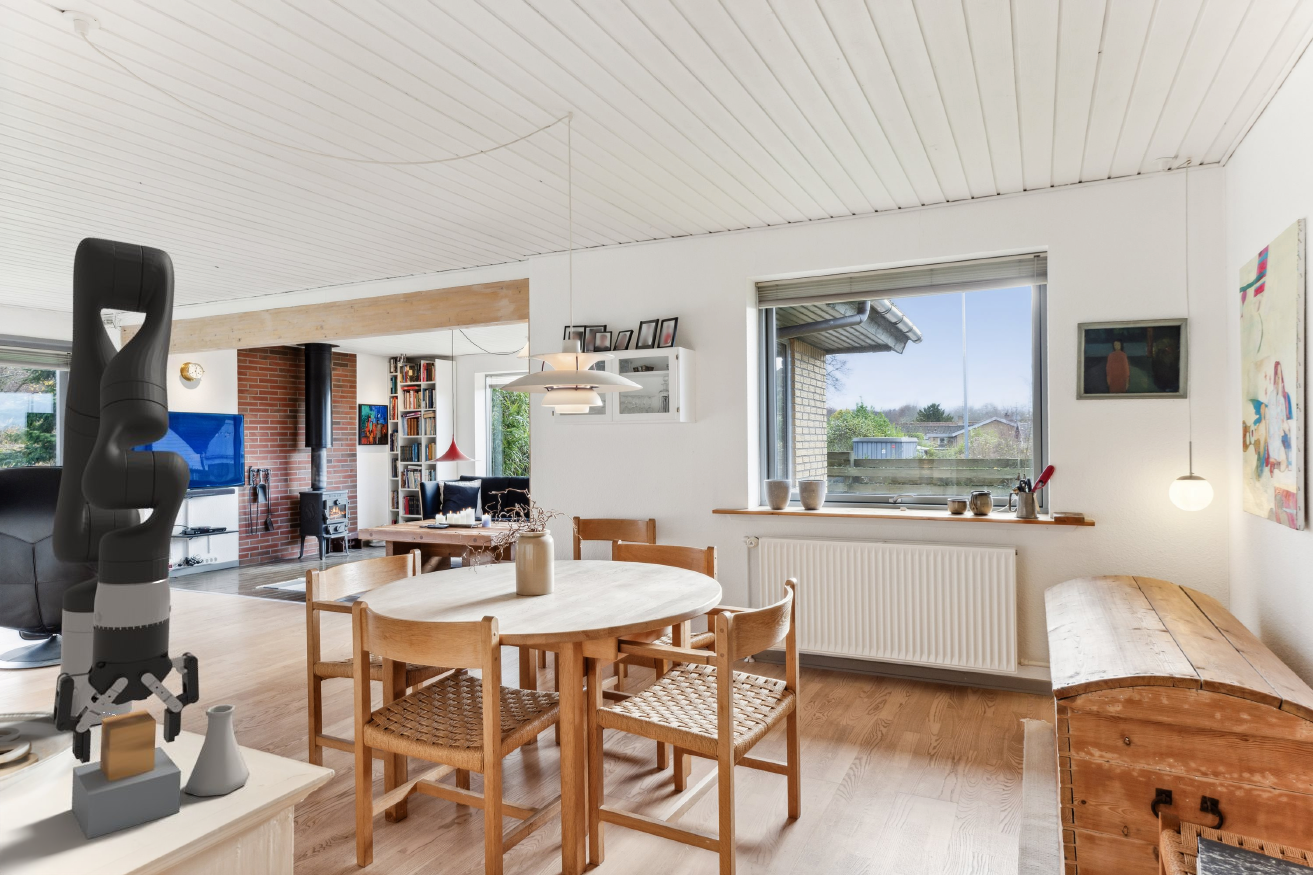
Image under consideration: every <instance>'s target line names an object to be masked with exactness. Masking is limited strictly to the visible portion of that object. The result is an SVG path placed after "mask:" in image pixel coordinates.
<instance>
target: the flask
mask: <svg viewBox="0 0 1313 875" xmlns="http://www.w3.org/2000/svg"><path fill="white" fill-rule="evenodd" d="M235 709H236V705H233V704H227V703H226V704H216V705H213V706H211V707H208V708H207V709H206V711H205V716H206V717H207V729H206V733H205V737H204V742H203V744H202V746H201V749H200V751H199V755H198V757H197V759H196V762H195V763H194V766H193V769H192V771H191V773H190V776H189V778H188V780H187V782H186V785H185V787H184V790H183V792H184V793H187V794H191V795H194V796H197V797H207V796H218V795H226V794H229V793H230V792H233V791H235V790H236V789H239V788H240V787H242V786H244V785H246V784H247V781H248V780H249V777H250V771H249V768H248V766H247V764H246V762H245V759H244V756H243V754H242V751H241V750H240V747H239V744H238V741H237V738H236V736H235V732H234V725H233V713H234V711H235Z"/></svg>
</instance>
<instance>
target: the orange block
mask: <svg viewBox="0 0 1313 875" xmlns="http://www.w3.org/2000/svg"><path fill="white" fill-rule="evenodd" d="M156 729H157V720H156V718H155V717H154V716H152V714H150V712H149V711H148V710H147V709H143V710H138V711H133V712H129V713H128V714H123V715H118V716H113V717H109V718H104V719H102V723H101V733H100V735H101V737H100V760H99V761H100V769H101V770H102V772H103V773H104V775H105V776H106V778H107V779H108V781H113V780H117V779H121V778H125V777H129V776H133V775H137V774H140V773H144V772H148V771H152V770H154V762H155V748H156V733H157V732H156V731H157V730H156Z"/></svg>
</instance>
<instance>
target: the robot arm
mask: <svg viewBox="0 0 1313 875" xmlns="http://www.w3.org/2000/svg"><path fill="white" fill-rule="evenodd" d="M76 247H77V248H76V250H75V255H74V259H73V271H72V272H73V273H72V342H71V343H72V345H71V346H72V347H71V356H70V357H71V358H70V364H69V365H70V366H69V367H70V368H69V376H68V381H67V382H68V383H67V390H66V391H67V392H66V399H65V408H64V419H63V422H64V423H63V454H62V467H61V468H62V470H61V476H60V483H59V484H60V485H59V490H58V495H57V502H56V507H55V508H56V509H55V514H54V520H53V521H54V522H53V528H52V540H51V542H52V550H53V555H54V557H55V559H56V560H57V561H58V562H59V563H61V564H64V565H65V564H66V565H82V564H83V565H85V564H98V566H97V568H98V569H97V574H98V575H97V576H95V577H93V578H91V579H88V580H87V581H82V582H80V583H78V584H75V585H73V586H72V585H71V587H69V588H68V589H66V590H65V591H64V593H63V596H62V609H61V610H62V612H61V613H62V614H61V615H62V618H61V641H60V642H61V644H60V645H61V647H60V648H61V650H60V674H58V676H57V678H56V685H55V695H54V696H55V697H54V703H53V704H54V705H53V713H52V714H53V715H52V724H53V725H54V726H55V728H56V730H57V731H59V732H64V731H71V732H72V746H71V747H72V748H71V749H72V750H71V752H72V754H73V756H74V758H75V759H76V760H79V762H80V763H81V764H86V763H90V762H91V743H92V741H91V740H92V730H91V729H90V726H92V725H98V724H102V719H104V718H109V717H113V716H115V715H116V716H118V715H123V714H128V713H131V711H132V710H133V709H132V708H133V701H135V702H136V701H137V702H138V701H145V700H148V698H150V697H151V696H152V695H153V694H154V695H155V696H157V698H158V699H159V700H160V701H161V702H162V703H163V704H164V705H166V708H164V710H163V712H164V713H163V733H162V734H163V740H164V741H165V742H166V743H167V744H169V743H174V742H175V740H176V739H175V738H176V737H178V736H180V733H181V730H182V729H181V728H182V726H181V725H182V724H181V723H182V711H183V709H184V708H185V707H187V706H189V705H191V704H196V703H198V701H199V699H200V684H199V682H200V681H199V660H198V658H197V656H196V655H194V654H193V653H192V652H189V651H186V652H184V653H182V655H181V656H177V657H172V658H170V655H169V648H170V647H169V645H170V620H171V619H170V618H171V612H172V604H171V588H170V576H169V574H170V573H169V572H170V571H169V570H170V554H171V552H170V551H171V543H172V542H171V541H172V536H173V531H174V527H175V524H176V521H177V517H178V515H179V512H180V509H181V507H182V504H183V502H184V500H185V496H186V494H187V491H188V487H189V484H190V479H191V473H190V472H191V471H190V468H189V465H188V463H187V461H186V459H185V458H184V457H183V456H182V455H181V454H180V453H178V452H175V451H170V450H152V451H151V450H132V449H133V448H136V447H141V446H146V445H151V444H154V443H156V442H158V441H160V440H162V439H163V438H164V437H165V436H166V435H167V434H168V431H169V426H170V420H169V418H170V416H169V402H168V401H169V400H168V385H167V384H168V383H167V381H168V378H167V376H168V374H167V372H168V361H169V352H170V347H171V334H172V326H173V316H174V314H173V313H174V300H175V268H174V264H173V259H172V258H171V256H170V254H168V252H166V251H165V250H164V249H163V250H162V249H160V248H158V247H157V248H156V247H153V246H149V245H148V246H147V245H143V244H141V245H140V244H135V243H131V242H123V241H118V240H111V239H105V238H99V237H85V238H83V239H82V240H80V241H79V243H78V245H77V246H76ZM105 309H106V310H115V311H123V312H131V313H140V314H145V317H144V320H143V323H142V325H141V327H140V328H138V331H136V333H135V334H134V336H132V338H130V340H129V341H128V342H127V343H126V344H125V345H123V346H122V348H121V349H119V350H117V348H116V347H115V345H114V342H113V341H112V339H111V338H110V336H109V334H108V331H107V329H106V327H105V324H104V321H103V318H102V310H105ZM87 502H88V503H87ZM141 509H142V510H146V509H147V510H149V509H152V512H151V514H150V516H148V518H147V519H146V520H144V521H143V522H142V521H141V513H140V510H141ZM173 668H174V669H176V670H175V671H176V672H177V673H178V674H179V675H181V687H182V692H181V693H180V694H178V695H176V696H175V695H174V694H173V693H172V692H171V691H170V690H169V689H168V688H167V687H166V686H165V685H164V684H162V683H163V682H164V680H166V677H167V676H168V675H169V674H170V672H172V670H173ZM103 712H105V713H103ZM109 713H110V714H109ZM112 714H115V715H112Z"/></svg>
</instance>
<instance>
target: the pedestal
mask: <svg viewBox="0 0 1313 875" xmlns="http://www.w3.org/2000/svg"><path fill="white" fill-rule="evenodd" d="M181 776H182V770H181V769H180V768H179V767H178V766H177V764H176V763H175V762H174V761H173V759H172V758H170V756H169V755H168V754H167V753H166V752H165V751H164V749H163V748H162V747H161V746H158V747H155V762H154V770H152V771H148V772H144V773H140V774H137V775H133V776H129V777H125V778H121V779H117V780H113V781H108V779H107V778H106V776H105V775H104V773H103V772H102V770H101V769H100V760H99V761H95V762H91V763H90V762H89V763H87V764H86V763H85V764H83V765H78V766H75V767H72V787H71V788H72V793H71V795H72V796H71V810H72V812H73V814H74V816H75V818H76V820H77V821H78V823H79V826H80V828H81V829H82V831H83V834H84V835H85V838H86V840H90V839H94V838H96V837H97V838H98V837H99V836H103V835H107V834H110V833H114V832H117V831H119V830H122V829H126V828H130V827H133V826H137V825H140V824H141V825H142V824H143V823H147V822H150V821H154V820H157V819H160V818H164V817H167V816H171V815H174V814H177V813H180V808H181V807H180V805H181V804H180V802H181V783H182V782H181Z"/></svg>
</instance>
